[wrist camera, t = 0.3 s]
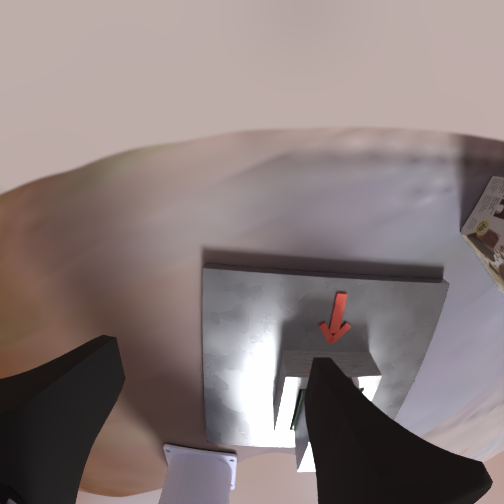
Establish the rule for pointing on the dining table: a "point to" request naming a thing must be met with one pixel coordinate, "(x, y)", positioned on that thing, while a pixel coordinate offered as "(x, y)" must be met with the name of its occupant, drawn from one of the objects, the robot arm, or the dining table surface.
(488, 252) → the coffee box
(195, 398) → the dining table surface
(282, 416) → the stand base
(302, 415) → the column
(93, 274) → the dining table surface
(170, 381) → the dining table surface
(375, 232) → the dining table surface
